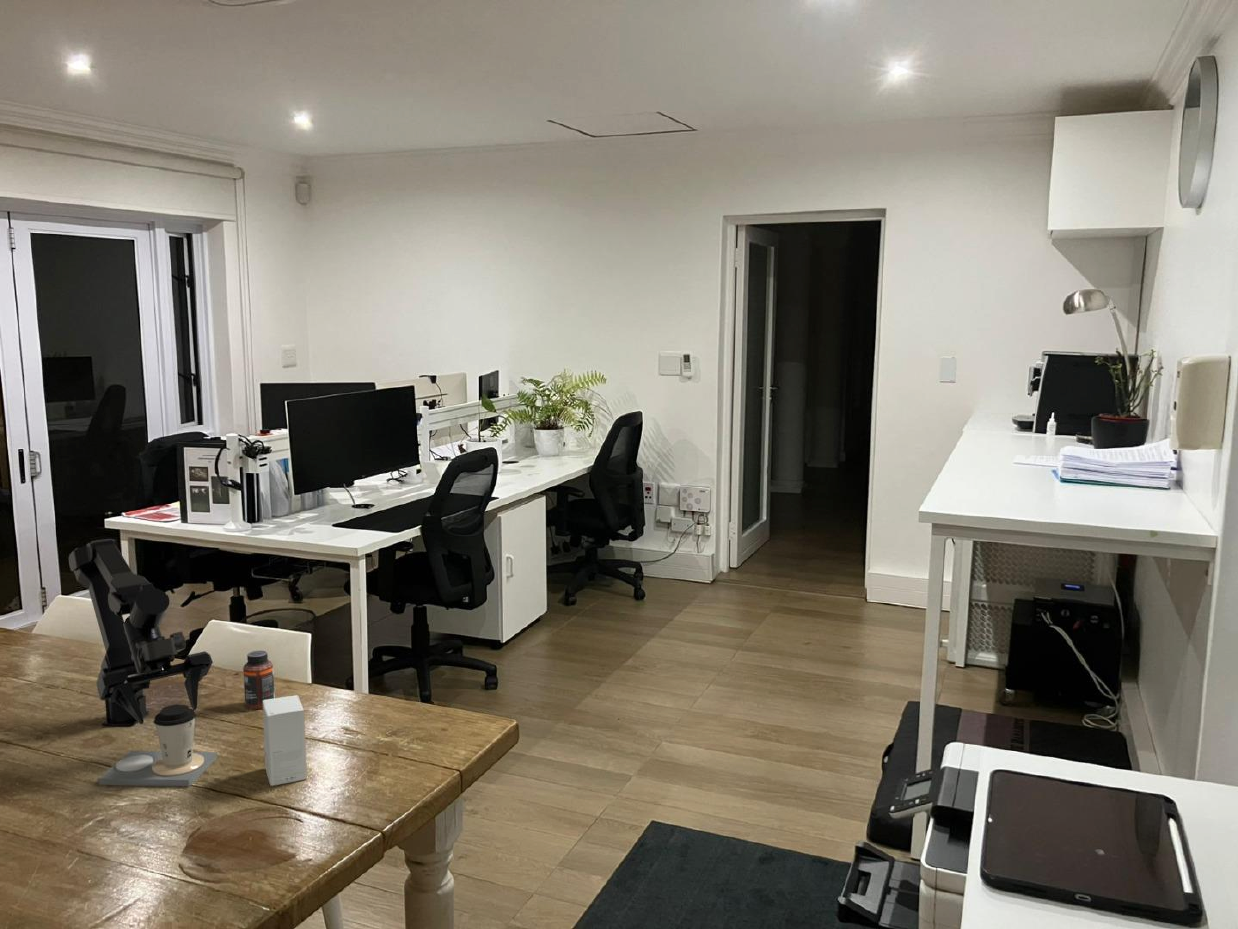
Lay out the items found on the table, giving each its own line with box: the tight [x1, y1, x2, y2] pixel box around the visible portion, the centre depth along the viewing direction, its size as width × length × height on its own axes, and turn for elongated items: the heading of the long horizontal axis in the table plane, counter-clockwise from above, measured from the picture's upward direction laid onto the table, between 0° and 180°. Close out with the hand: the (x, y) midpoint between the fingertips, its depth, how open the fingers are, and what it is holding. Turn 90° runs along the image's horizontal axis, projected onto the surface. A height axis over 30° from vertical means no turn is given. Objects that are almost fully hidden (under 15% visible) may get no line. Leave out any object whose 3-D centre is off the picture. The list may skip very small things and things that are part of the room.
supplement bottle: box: [242, 650, 276, 710], centre depth 204 cm, size 6×6×11 cm
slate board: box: [98, 750, 218, 788], centre depth 174 cm, size 16×11×2 cm
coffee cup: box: [153, 703, 197, 769], centre depth 173 cm, size 7×7×10 cm
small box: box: [262, 694, 308, 787], centre depth 173 cm, size 8×6×13 cm
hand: (169, 716), depth 175 cm, fingers open, 9 cm apart
